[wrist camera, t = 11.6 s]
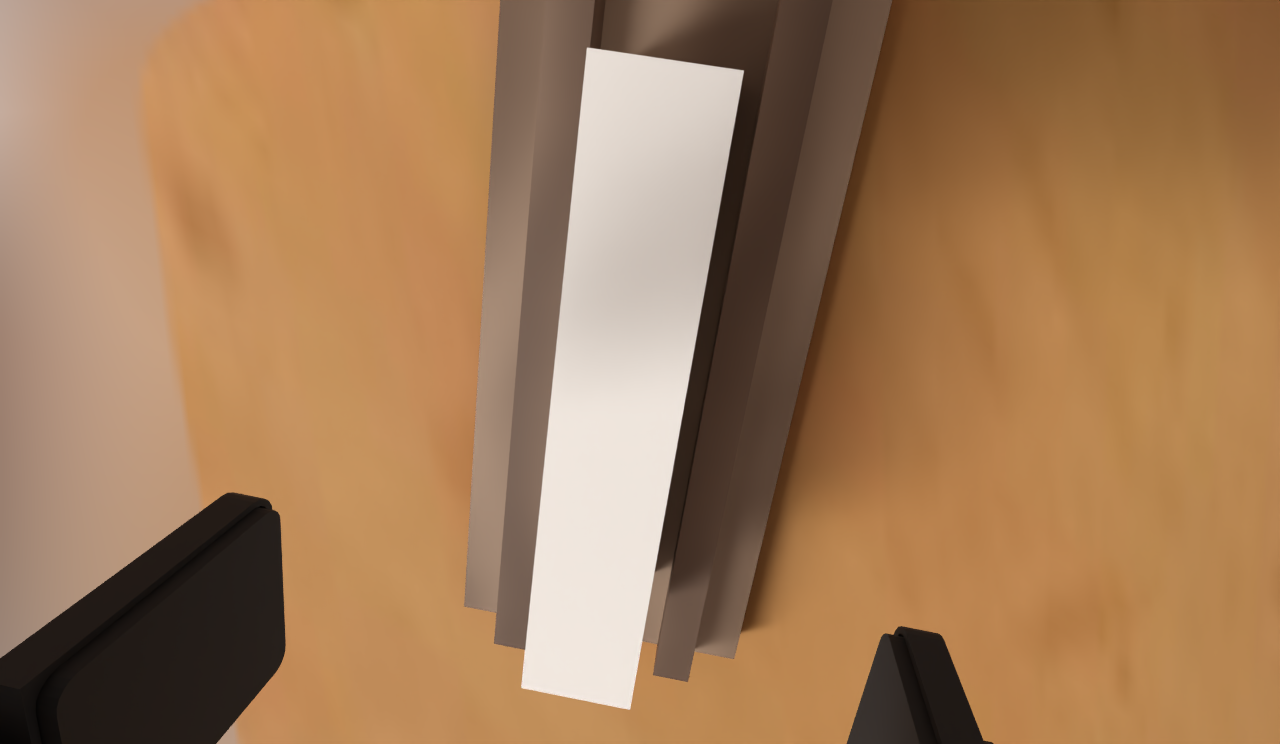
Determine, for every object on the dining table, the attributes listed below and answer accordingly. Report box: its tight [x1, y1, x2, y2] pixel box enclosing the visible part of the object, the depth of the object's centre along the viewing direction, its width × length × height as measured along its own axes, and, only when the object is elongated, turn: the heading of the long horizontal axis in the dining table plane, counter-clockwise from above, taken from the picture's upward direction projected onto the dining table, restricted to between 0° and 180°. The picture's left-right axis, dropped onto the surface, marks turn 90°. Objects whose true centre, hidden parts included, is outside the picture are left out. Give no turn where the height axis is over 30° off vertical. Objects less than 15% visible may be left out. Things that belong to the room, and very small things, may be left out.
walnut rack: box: [464, 0, 892, 682], centre depth 22 cm, size 10×22×2 cm, turn 172°
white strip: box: [521, 47, 744, 710], centre depth 19 cm, size 3×16×6 cm, turn 172°
